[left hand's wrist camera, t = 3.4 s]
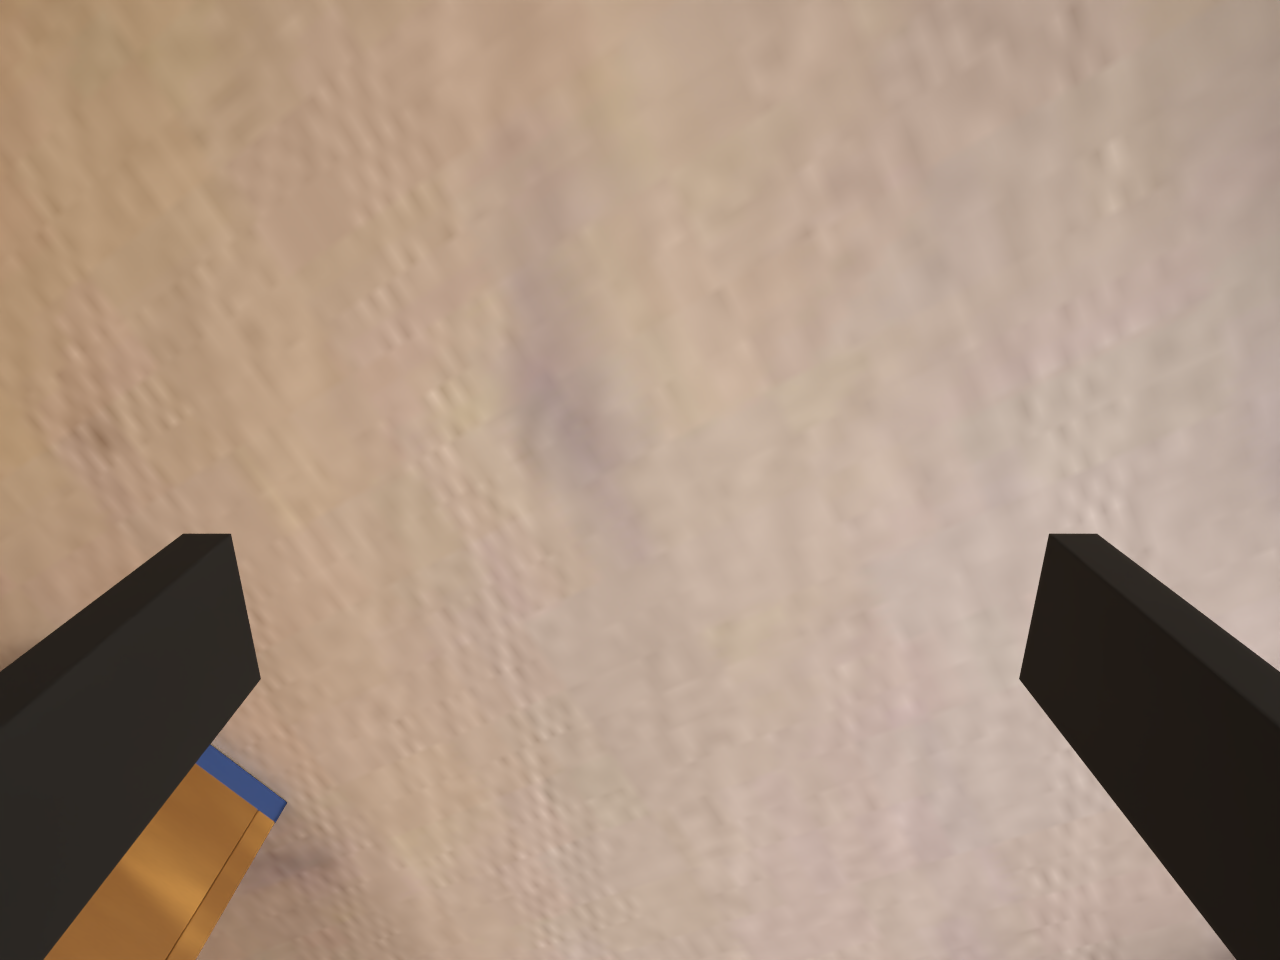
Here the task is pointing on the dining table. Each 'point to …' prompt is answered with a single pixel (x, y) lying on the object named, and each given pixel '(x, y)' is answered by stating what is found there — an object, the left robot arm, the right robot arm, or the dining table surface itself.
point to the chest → (177, 869)
